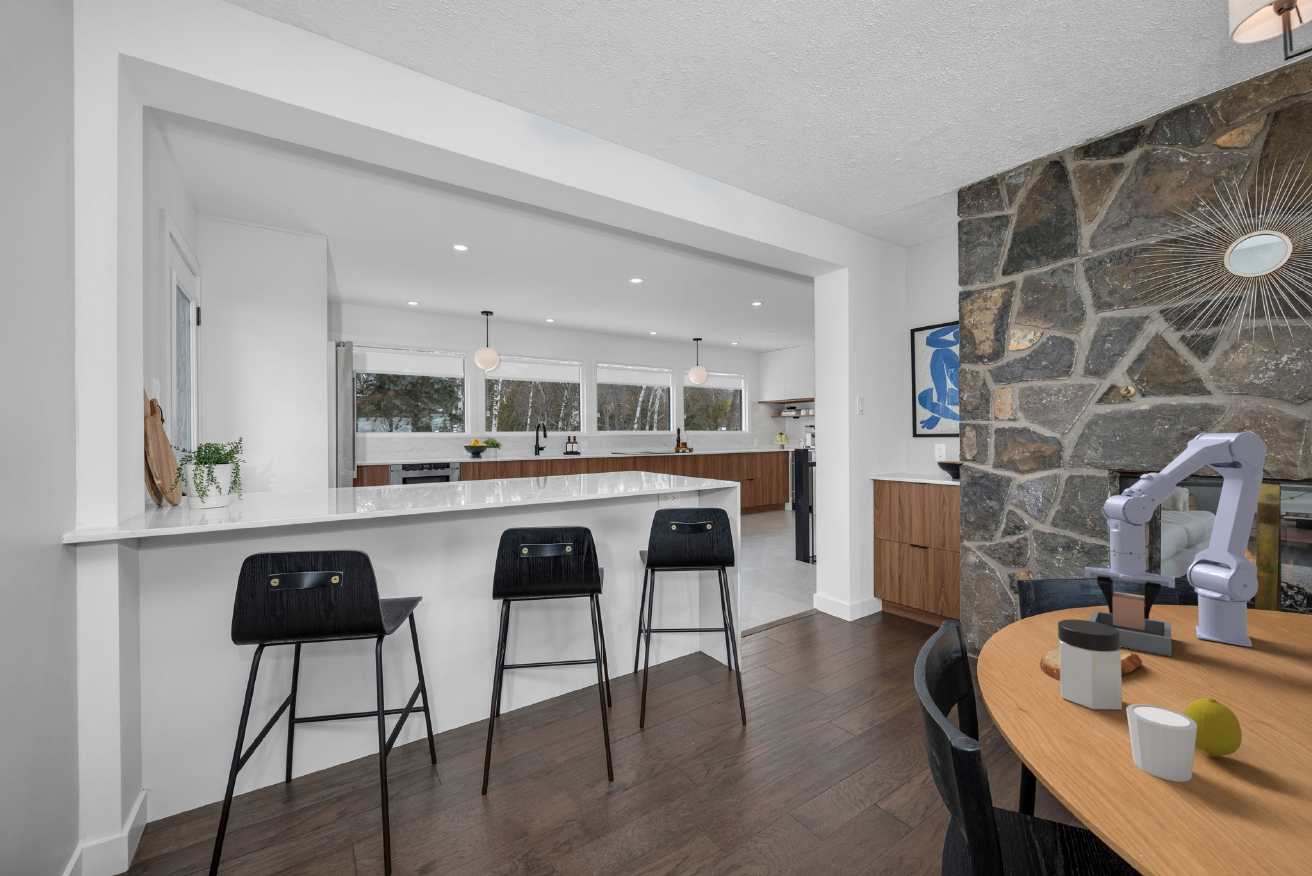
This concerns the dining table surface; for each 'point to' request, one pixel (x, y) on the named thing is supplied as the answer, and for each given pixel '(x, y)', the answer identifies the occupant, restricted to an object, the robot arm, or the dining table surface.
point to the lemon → (1215, 727)
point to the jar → (1090, 664)
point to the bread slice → (1051, 663)
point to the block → (1128, 610)
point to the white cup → (1162, 741)
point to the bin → (1140, 634)
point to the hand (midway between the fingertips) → (1128, 615)
